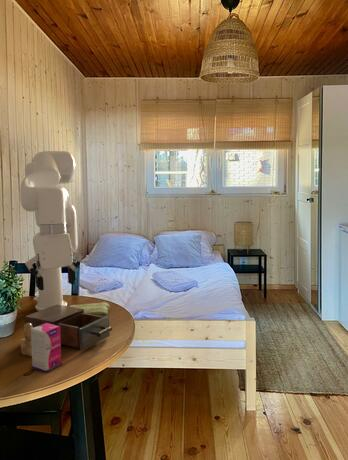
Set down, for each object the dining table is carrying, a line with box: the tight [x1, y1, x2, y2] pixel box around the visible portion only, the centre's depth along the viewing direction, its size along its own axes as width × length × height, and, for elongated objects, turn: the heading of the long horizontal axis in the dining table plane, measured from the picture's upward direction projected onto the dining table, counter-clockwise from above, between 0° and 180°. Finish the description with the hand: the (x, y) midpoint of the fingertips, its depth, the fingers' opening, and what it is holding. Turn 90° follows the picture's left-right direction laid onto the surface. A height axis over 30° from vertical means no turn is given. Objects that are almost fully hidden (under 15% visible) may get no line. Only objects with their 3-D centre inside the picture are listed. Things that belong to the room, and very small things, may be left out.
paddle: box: [20, 323, 32, 357], centre depth 126 cm, size 5×2×10 cm, turn 62°
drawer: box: [55, 313, 113, 351], centre depth 133 cm, size 15×13×7 cm
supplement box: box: [31, 323, 62, 373], centre depth 117 cm, size 6×6×12 cm
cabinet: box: [24, 305, 84, 328], centre depth 140 cm, size 12×14×8 cm
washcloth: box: [69, 301, 111, 317], centre depth 162 cm, size 13×18×3 cm
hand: (56, 286), depth 125 cm, fingers open, 9 cm apart
